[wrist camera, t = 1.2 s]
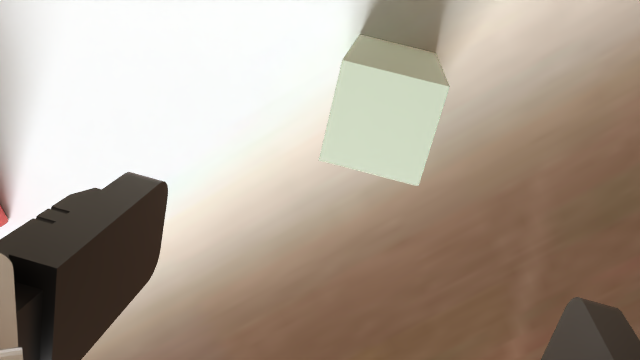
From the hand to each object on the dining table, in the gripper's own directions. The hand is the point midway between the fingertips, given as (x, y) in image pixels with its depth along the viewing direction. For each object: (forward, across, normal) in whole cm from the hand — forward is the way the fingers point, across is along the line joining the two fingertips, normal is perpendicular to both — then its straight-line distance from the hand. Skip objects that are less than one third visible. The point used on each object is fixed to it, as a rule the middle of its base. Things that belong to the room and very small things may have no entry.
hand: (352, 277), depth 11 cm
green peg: (+20, 0, 0) cm, 20 cm away
